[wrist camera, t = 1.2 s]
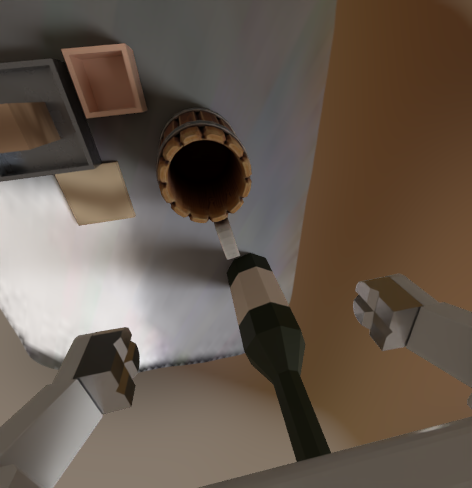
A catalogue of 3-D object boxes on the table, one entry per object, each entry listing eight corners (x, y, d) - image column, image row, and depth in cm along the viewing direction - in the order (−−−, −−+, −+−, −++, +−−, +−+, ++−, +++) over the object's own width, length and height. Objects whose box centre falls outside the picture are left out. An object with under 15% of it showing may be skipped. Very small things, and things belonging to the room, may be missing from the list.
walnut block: (7, 105, 28) (-42, 108, 22) (44, 101, 28) (6, 103, 22) (26, 143, 30) (-14, 154, 24) (60, 139, 30) (30, 149, 25)
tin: (-44, 71, 26) (-69, 69, 24) (64, 61, 27) (51, 58, 25) (14, 174, 32) (-1, 181, 29) (102, 163, 33) (94, 168, 30)
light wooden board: (54, 169, 32) (52, 170, 32) (117, 161, 33) (116, 162, 33) (80, 223, 37) (79, 225, 36) (135, 215, 37) (134, 217, 37)
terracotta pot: (76, 54, 27) (61, 49, 24) (132, 49, 28) (124, 43, 24) (97, 116, 30) (86, 118, 27) (147, 110, 31) (142, 112, 27)
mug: (145, 122, 32) (117, 139, 19) (224, 95, 31) (249, 95, 19) (190, 225, 40) (192, 285, 27) (252, 204, 40) (283, 255, 27)
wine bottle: (278, 270, 48) (383, 469, 22) (246, 295, 50) (308, 505, 24) (251, 244, 44) (341, 451, 18) (217, 273, 46) (255, 496, 20)
